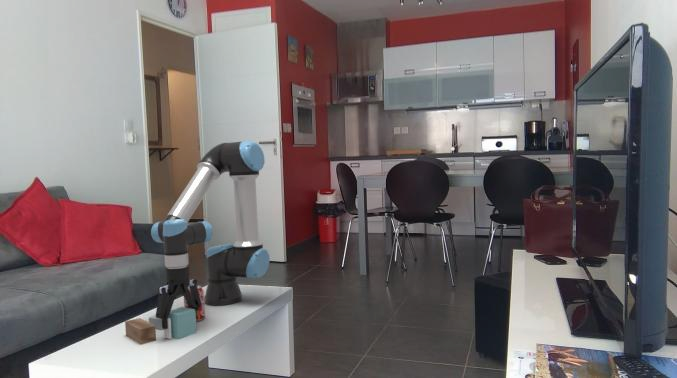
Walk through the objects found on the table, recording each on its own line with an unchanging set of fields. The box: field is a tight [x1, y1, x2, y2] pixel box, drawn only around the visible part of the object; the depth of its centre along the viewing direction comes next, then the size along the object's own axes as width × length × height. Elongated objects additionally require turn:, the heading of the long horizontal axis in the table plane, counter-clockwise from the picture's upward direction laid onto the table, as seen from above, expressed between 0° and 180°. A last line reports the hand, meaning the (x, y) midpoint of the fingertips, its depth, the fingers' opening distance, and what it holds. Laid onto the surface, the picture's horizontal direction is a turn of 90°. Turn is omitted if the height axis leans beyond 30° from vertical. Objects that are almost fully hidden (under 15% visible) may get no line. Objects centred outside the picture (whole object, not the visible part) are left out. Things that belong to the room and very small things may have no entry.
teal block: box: [168, 306, 197, 340], centre depth 169 cm, size 7×7×8 cm
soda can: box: [183, 284, 206, 323], centre depth 185 cm, size 7×7×12 cm
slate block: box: [148, 314, 164, 331], centre depth 178 cm, size 6×6×4 cm
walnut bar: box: [124, 317, 157, 345], centre depth 167 cm, size 5×13×5 cm, turn 42°
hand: (180, 333), depth 169 cm, fingers open, 9 cm apart
